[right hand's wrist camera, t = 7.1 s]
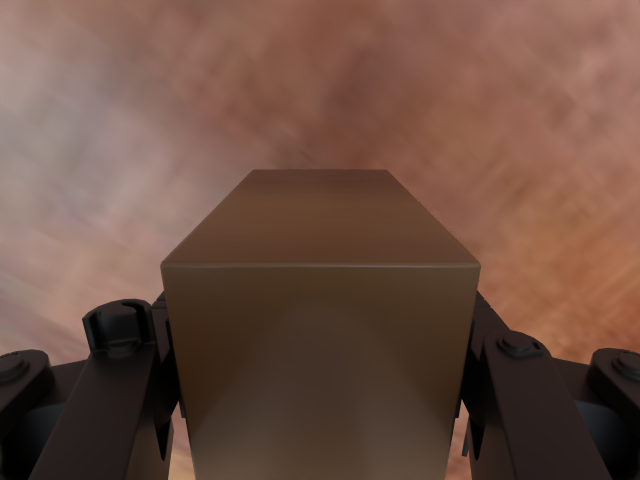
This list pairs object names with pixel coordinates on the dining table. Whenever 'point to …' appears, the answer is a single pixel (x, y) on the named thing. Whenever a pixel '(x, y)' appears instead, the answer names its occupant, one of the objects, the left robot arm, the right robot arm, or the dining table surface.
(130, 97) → the dining table surface
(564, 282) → the dining table surface
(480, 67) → the dining table surface
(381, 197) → the bar
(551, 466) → the right robot arm
